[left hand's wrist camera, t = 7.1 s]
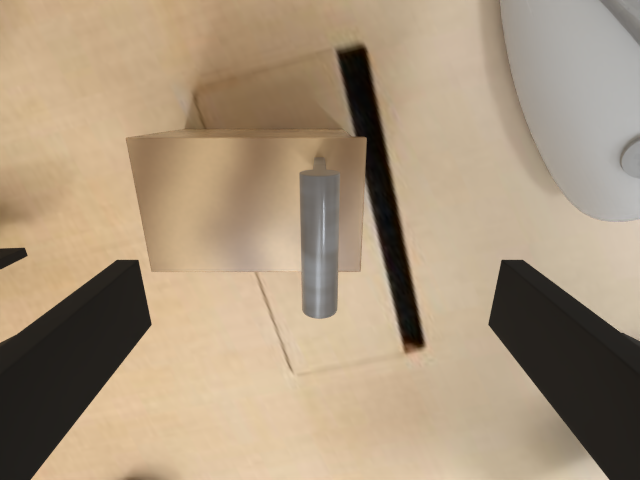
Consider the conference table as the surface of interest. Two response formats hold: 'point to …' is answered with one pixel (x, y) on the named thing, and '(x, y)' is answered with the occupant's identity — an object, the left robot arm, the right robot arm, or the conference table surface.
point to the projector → (581, 96)
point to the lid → (254, 207)
